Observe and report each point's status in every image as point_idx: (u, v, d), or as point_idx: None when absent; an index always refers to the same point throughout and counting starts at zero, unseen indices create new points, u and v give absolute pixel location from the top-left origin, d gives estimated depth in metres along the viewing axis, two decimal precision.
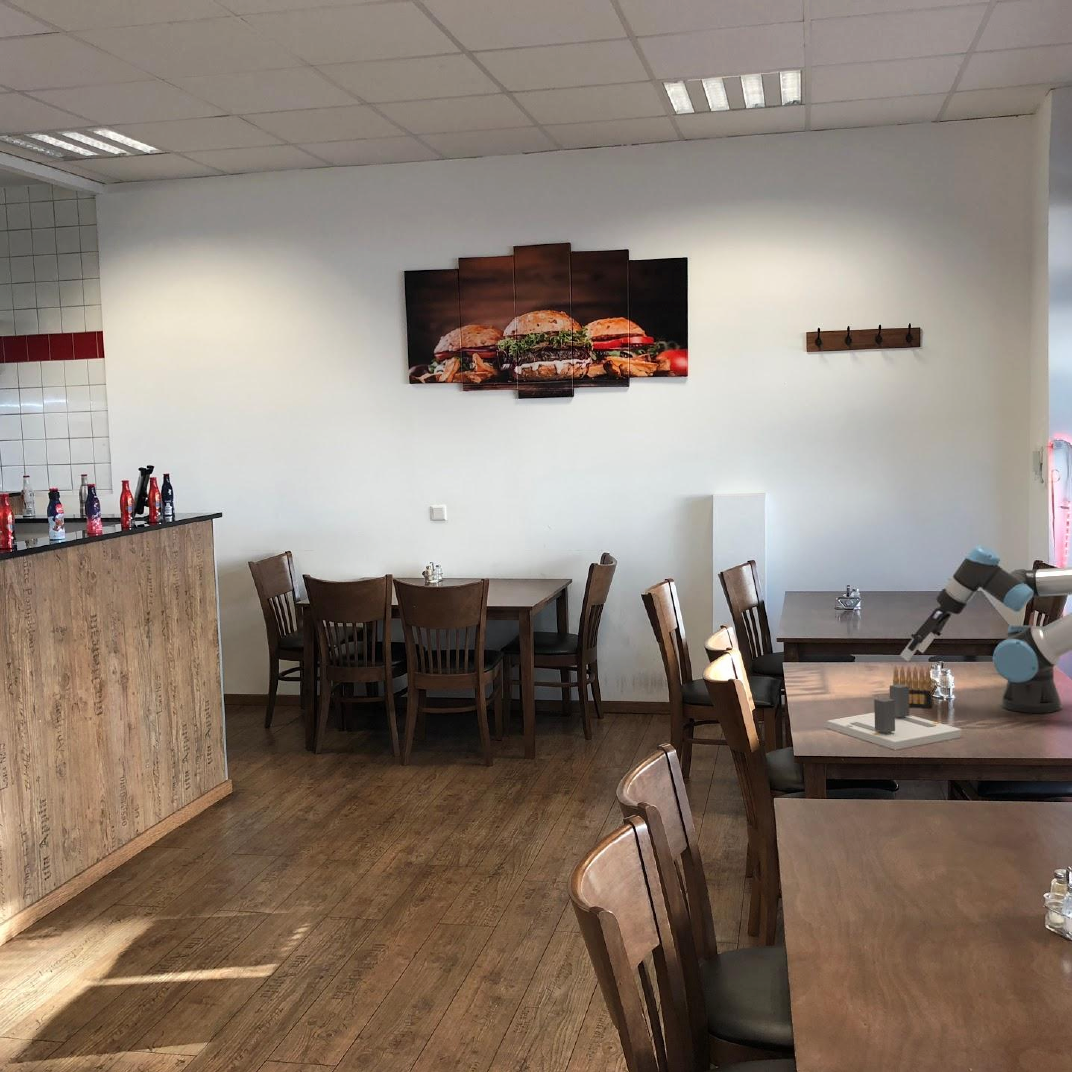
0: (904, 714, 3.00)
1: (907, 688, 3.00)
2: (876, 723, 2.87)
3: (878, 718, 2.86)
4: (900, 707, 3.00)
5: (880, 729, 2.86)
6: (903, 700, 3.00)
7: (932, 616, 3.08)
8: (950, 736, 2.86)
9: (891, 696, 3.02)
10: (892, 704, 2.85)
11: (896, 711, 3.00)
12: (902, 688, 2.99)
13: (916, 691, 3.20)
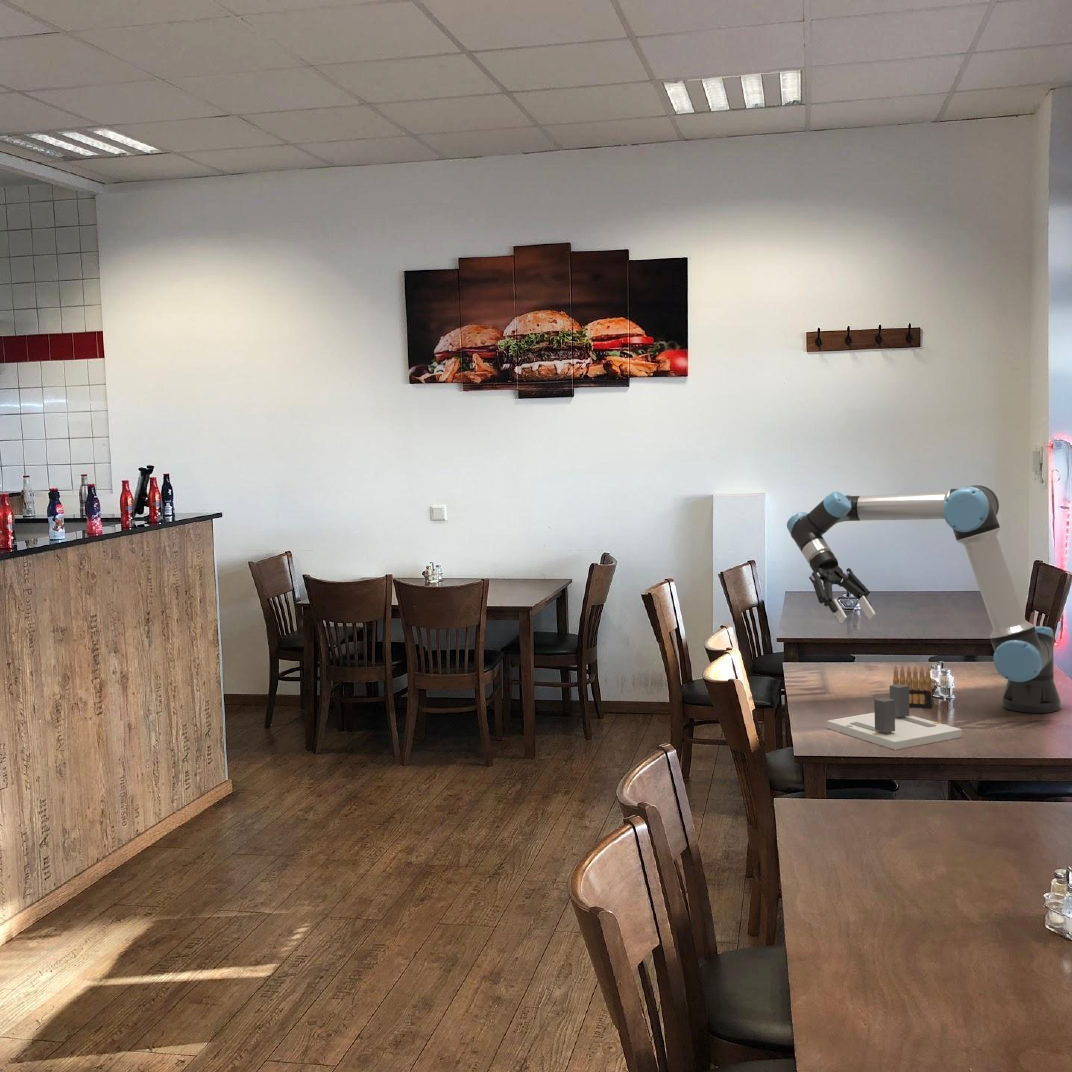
0: (904, 714, 3.00)
1: (907, 688, 3.00)
2: (876, 723, 2.87)
3: (878, 718, 2.86)
4: (900, 707, 3.00)
5: (880, 729, 2.86)
6: (903, 700, 3.00)
7: (813, 581, 3.21)
8: (950, 736, 2.86)
9: (891, 696, 3.02)
10: (892, 704, 2.85)
11: (896, 711, 3.00)
12: (902, 688, 2.99)
13: (916, 691, 3.20)
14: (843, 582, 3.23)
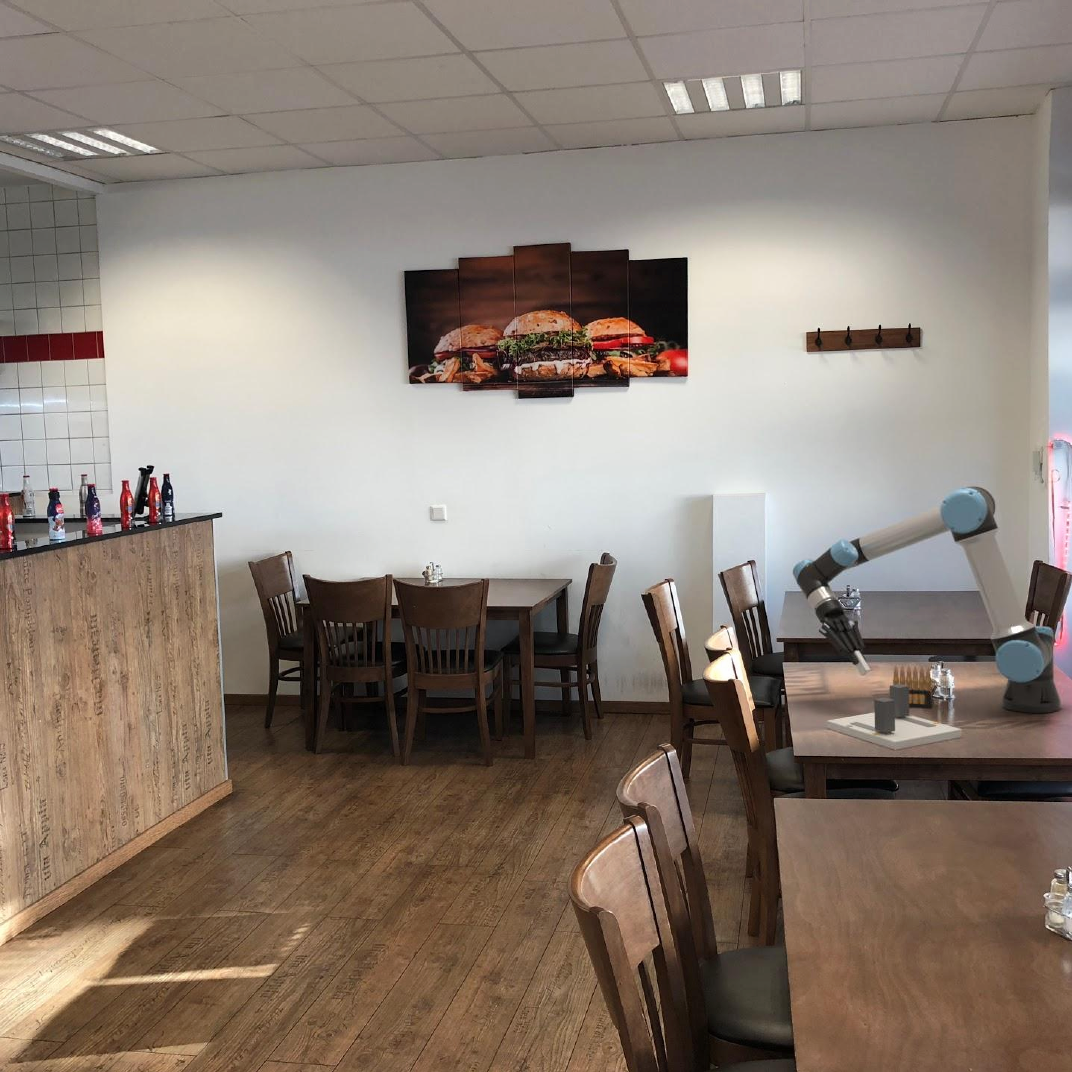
0: (904, 714, 3.00)
1: (907, 688, 3.00)
2: (876, 723, 2.87)
3: (878, 718, 2.86)
4: (900, 707, 3.00)
5: (880, 729, 2.86)
6: (903, 700, 3.00)
7: (824, 634, 3.19)
8: (950, 736, 2.86)
9: (891, 696, 3.02)
10: (892, 704, 2.85)
11: (896, 711, 3.00)
12: (902, 688, 2.99)
13: (916, 691, 3.20)
14: (844, 632, 3.20)
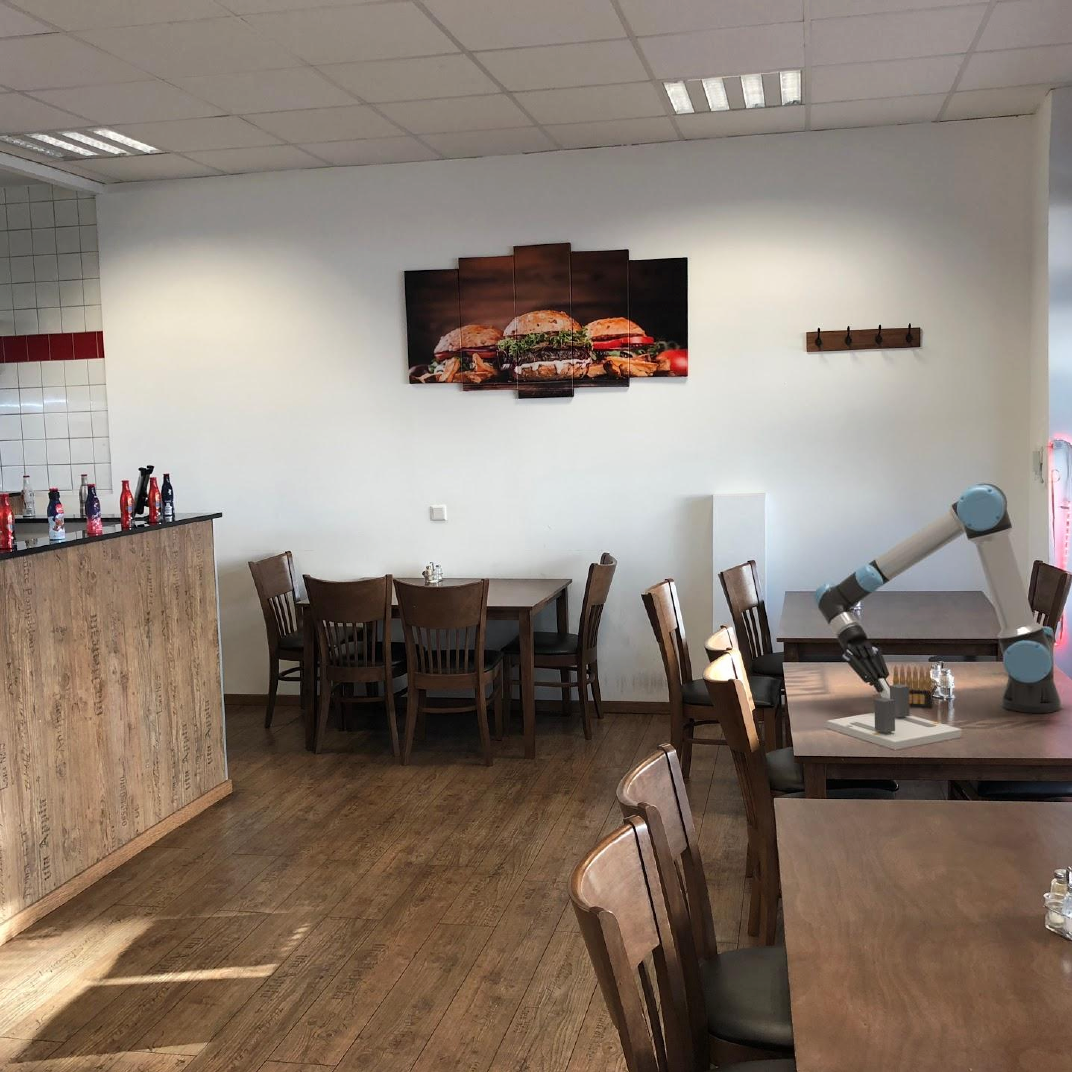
0: (904, 714, 3.00)
1: (907, 688, 3.00)
2: (876, 723, 2.87)
3: (878, 718, 2.86)
4: (900, 707, 2.99)
5: (880, 729, 2.86)
6: (903, 700, 3.00)
7: (847, 661, 3.11)
8: (950, 736, 2.86)
9: (891, 696, 3.02)
10: (892, 704, 2.85)
11: (896, 711, 3.00)
12: (902, 688, 2.99)
13: (916, 691, 3.20)
14: (868, 659, 3.12)
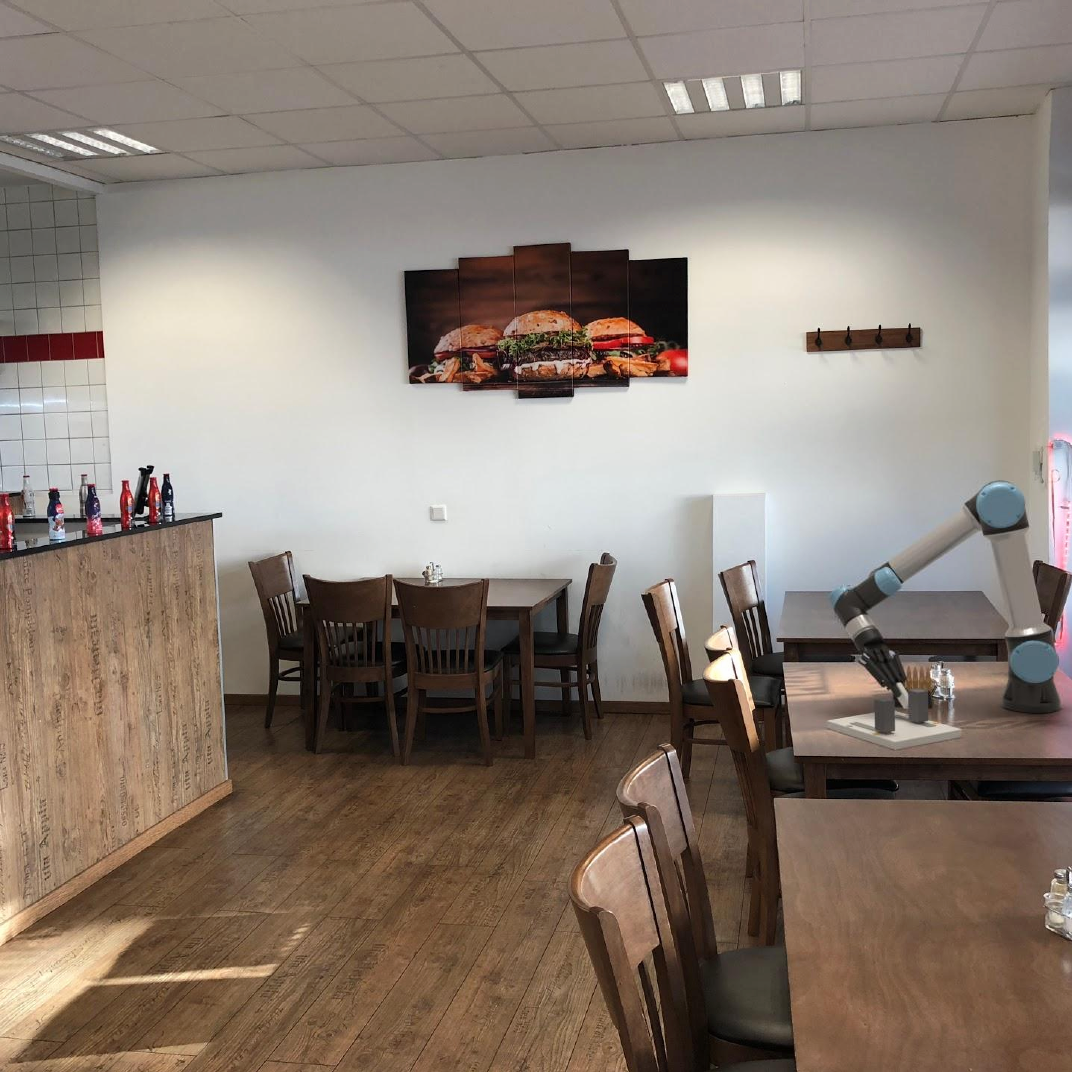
0: (923, 719, 2.94)
1: (926, 693, 2.94)
2: (876, 723, 2.87)
3: (878, 718, 2.86)
4: (919, 712, 2.93)
5: (880, 729, 2.86)
6: (922, 705, 2.94)
7: (864, 664, 3.05)
8: (950, 736, 2.86)
9: (910, 701, 2.95)
10: (892, 704, 2.85)
11: (915, 716, 2.94)
12: (921, 693, 2.93)
13: None
14: (885, 663, 3.06)
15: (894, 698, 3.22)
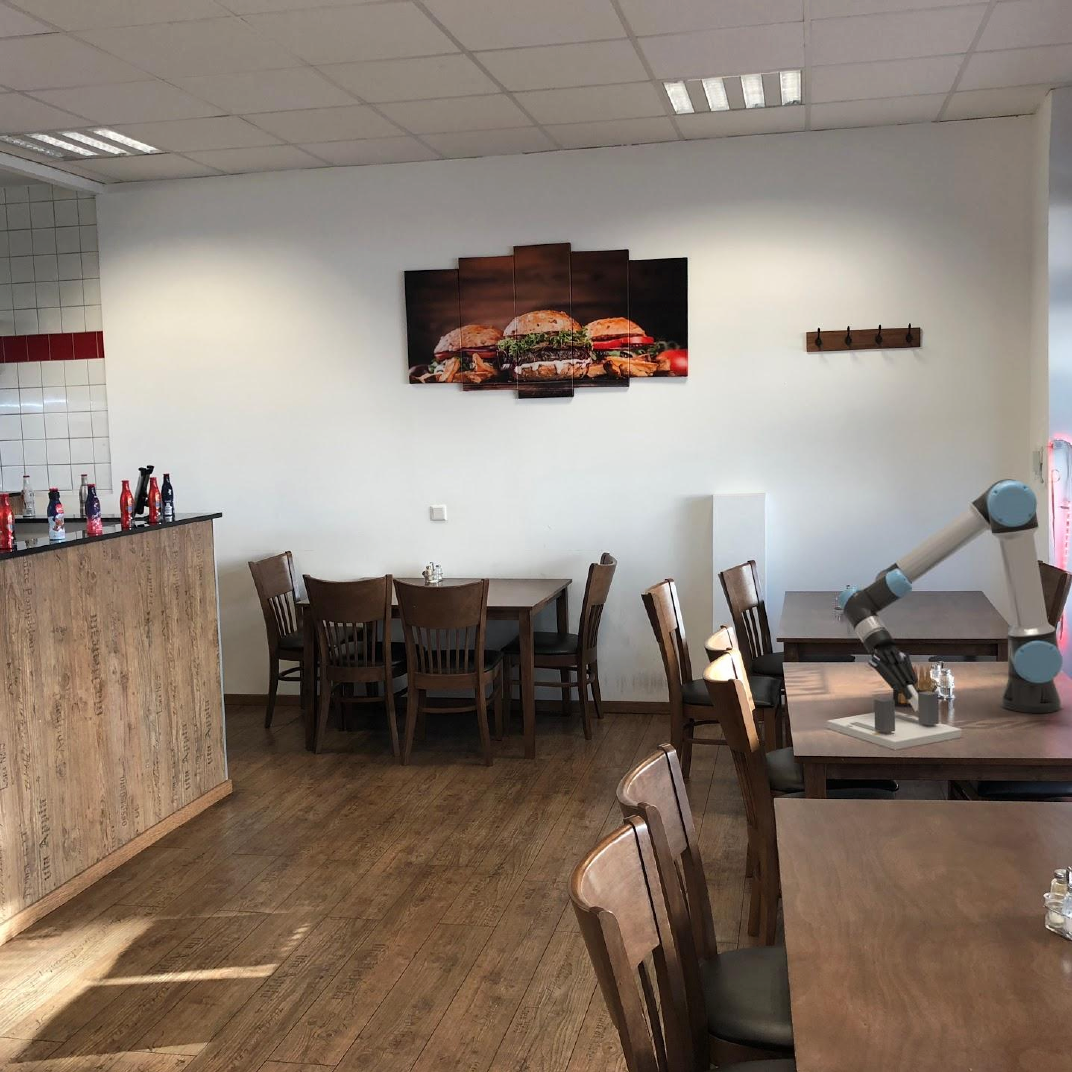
0: (933, 722, 2.91)
1: (936, 695, 2.91)
2: (876, 723, 2.87)
3: (878, 718, 2.86)
4: (929, 715, 2.90)
5: (880, 729, 2.86)
6: (932, 707, 2.90)
7: (874, 666, 3.01)
8: (950, 736, 2.86)
9: (920, 703, 2.92)
10: (892, 704, 2.85)
11: (925, 719, 2.91)
12: (931, 695, 2.90)
13: None
14: (895, 665, 3.03)
15: (894, 698, 3.22)
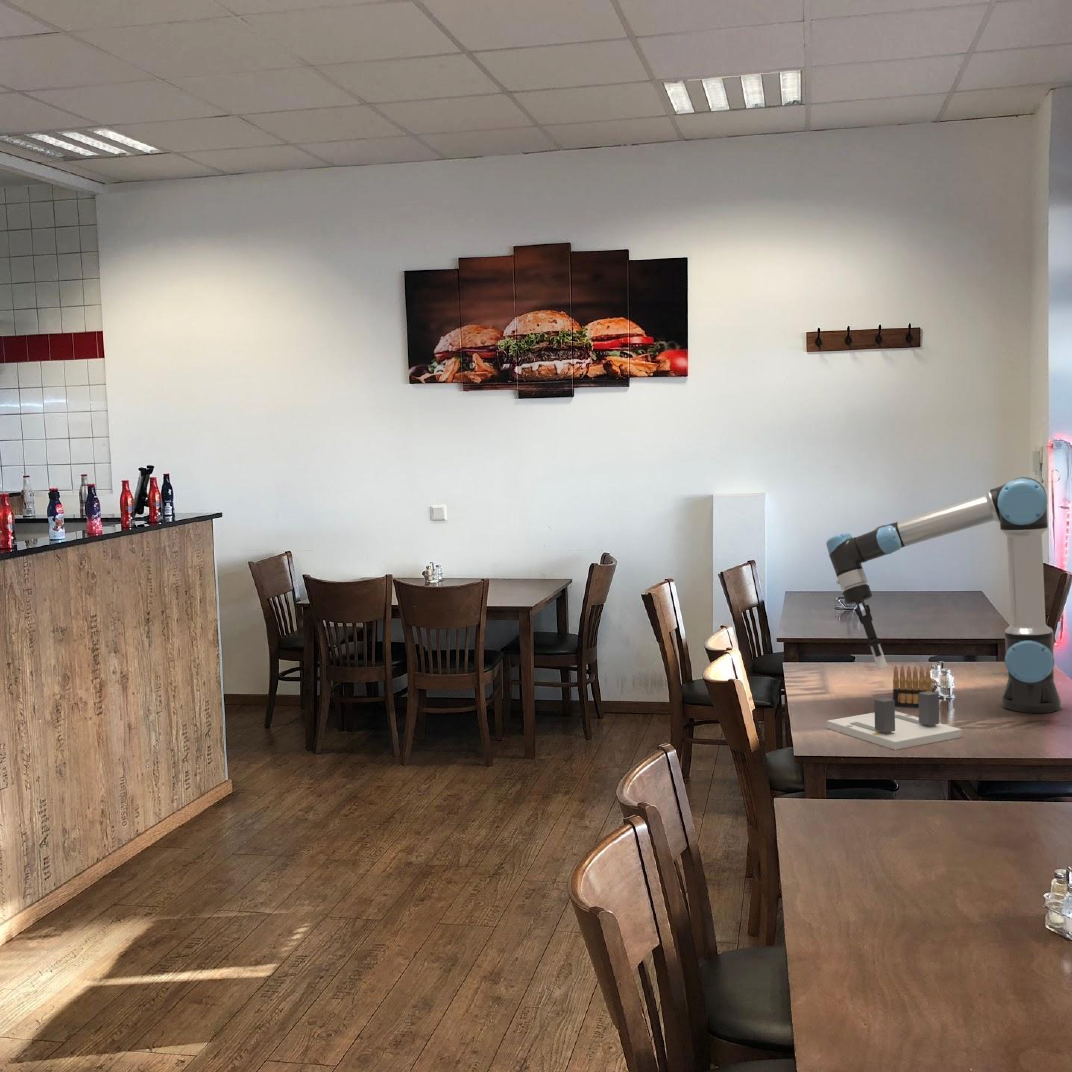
0: (934, 722, 2.91)
1: (937, 695, 2.90)
2: (876, 723, 2.87)
3: (878, 718, 2.86)
4: (929, 715, 2.90)
5: (880, 729, 2.86)
6: (932, 707, 2.90)
7: (862, 616, 3.10)
8: (950, 736, 2.86)
9: (920, 704, 2.92)
10: (892, 704, 2.85)
11: (925, 719, 2.91)
12: (932, 695, 2.90)
13: (916, 691, 3.20)
14: None
15: (894, 698, 3.22)
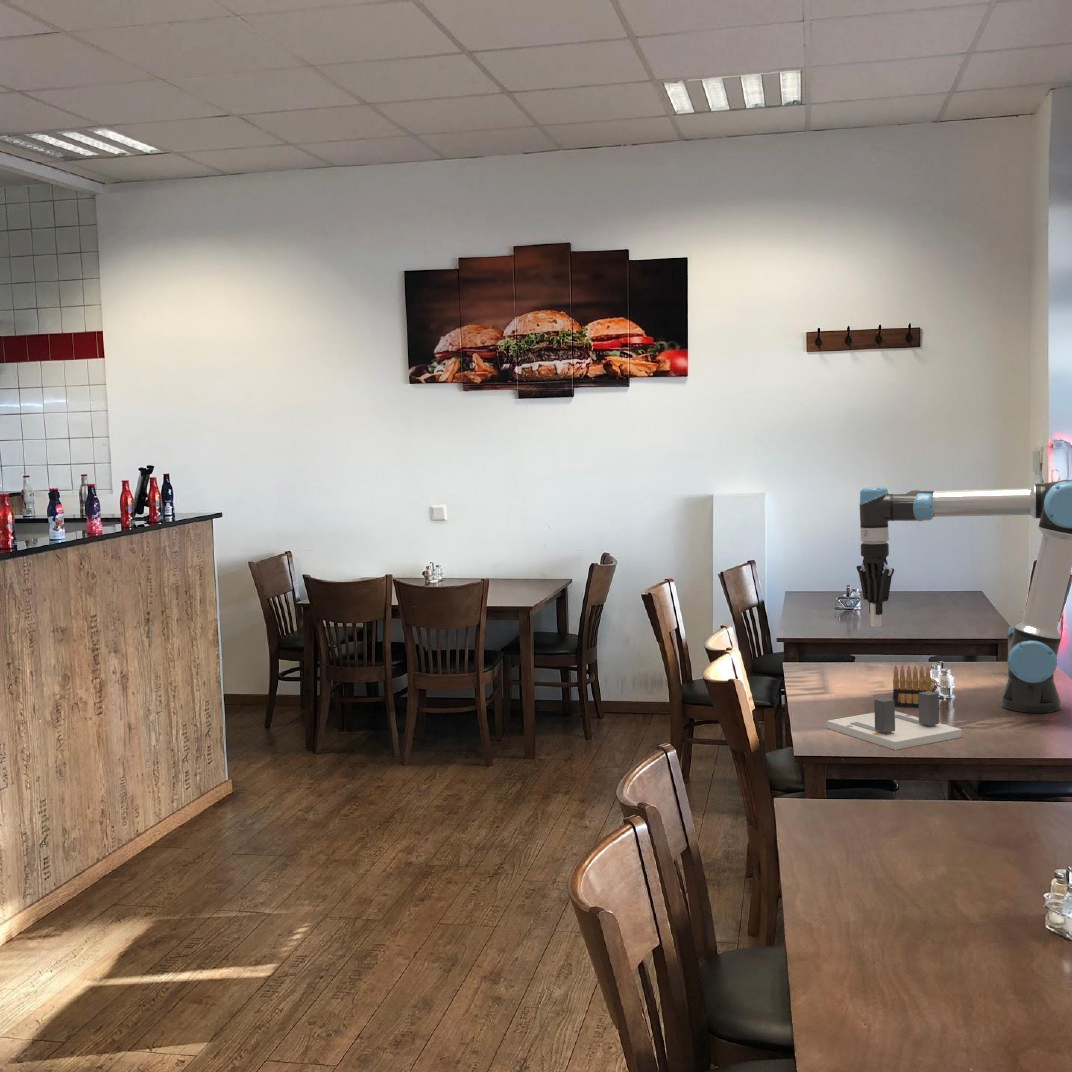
0: (934, 722, 2.91)
1: (937, 695, 2.90)
2: (876, 723, 2.87)
3: (878, 718, 2.86)
4: (929, 715, 2.90)
5: (880, 729, 2.86)
6: (932, 707, 2.90)
7: (887, 576, 3.10)
8: (950, 736, 2.86)
9: (920, 704, 2.92)
10: (892, 704, 2.85)
11: (925, 719, 2.91)
12: (932, 695, 2.90)
13: (916, 691, 3.20)
14: None
15: (894, 698, 3.22)
